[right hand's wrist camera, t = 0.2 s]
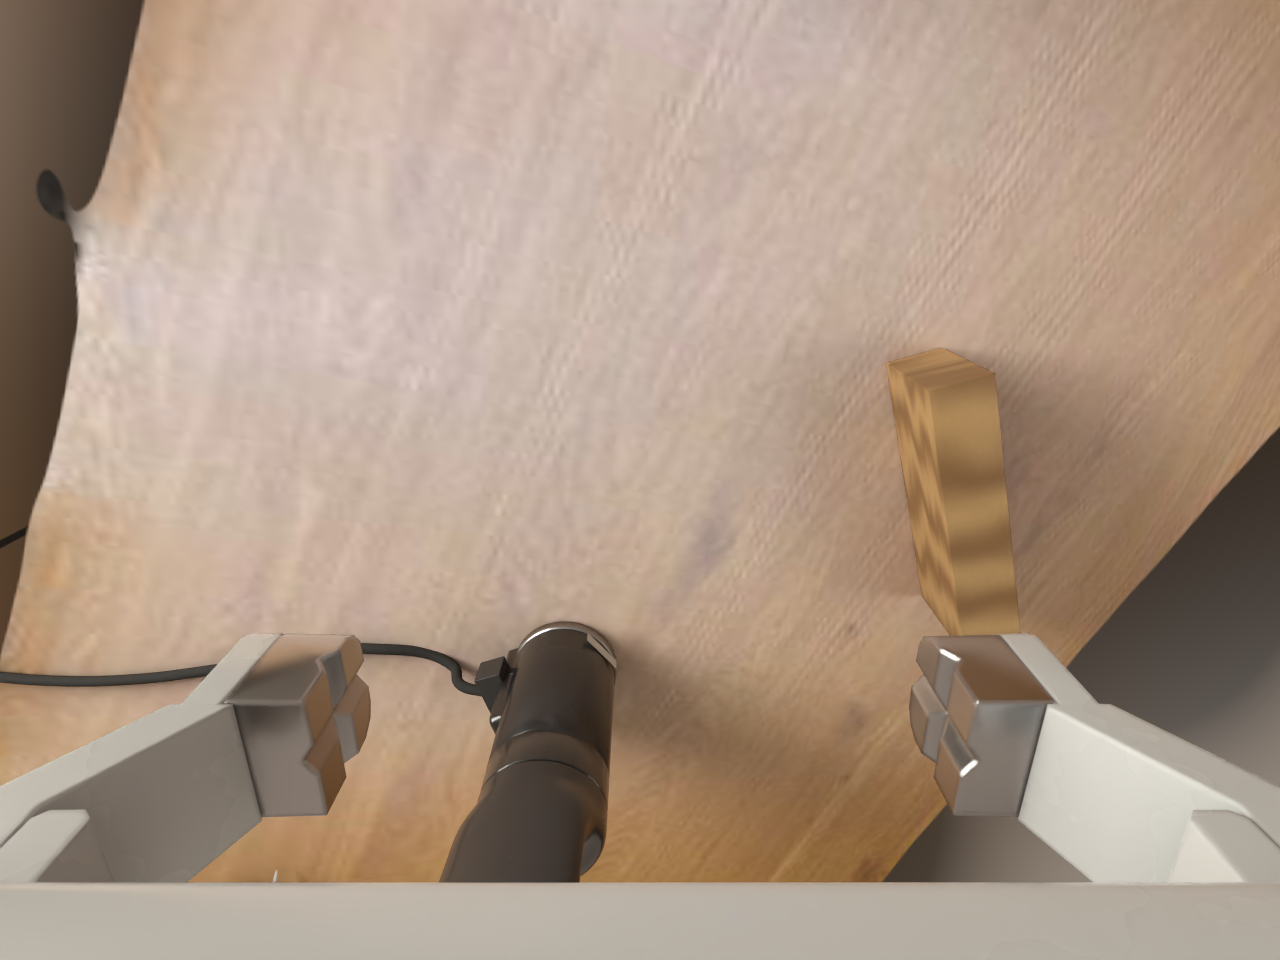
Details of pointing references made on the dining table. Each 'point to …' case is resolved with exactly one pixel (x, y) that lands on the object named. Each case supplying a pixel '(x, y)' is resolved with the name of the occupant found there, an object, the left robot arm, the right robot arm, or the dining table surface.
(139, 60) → the dining table surface
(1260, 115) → the dining table surface
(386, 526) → the dining table surface
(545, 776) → the left robot arm
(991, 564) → the bar
